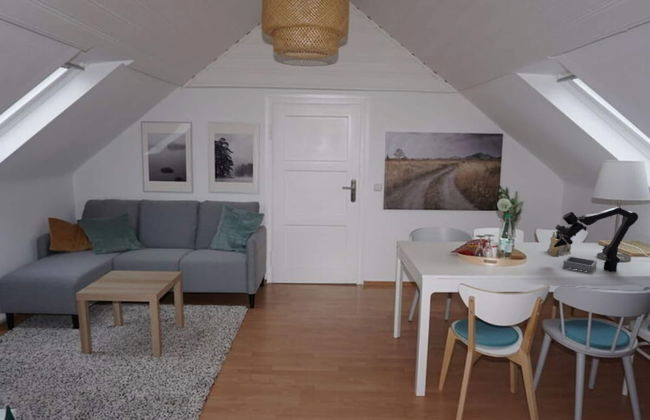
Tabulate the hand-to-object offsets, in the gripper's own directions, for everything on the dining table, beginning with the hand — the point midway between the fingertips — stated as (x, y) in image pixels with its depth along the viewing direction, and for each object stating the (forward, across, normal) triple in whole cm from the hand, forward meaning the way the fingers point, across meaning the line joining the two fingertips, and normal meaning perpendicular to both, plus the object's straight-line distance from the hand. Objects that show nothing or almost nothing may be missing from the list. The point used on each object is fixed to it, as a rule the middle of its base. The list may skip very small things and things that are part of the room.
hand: (552, 245), depth 298 cm
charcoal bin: (-3, -1, +22) cm, 22 cm away
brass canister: (+4, 0, +6) cm, 7 cm away
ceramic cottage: (-1, -38, +20) cm, 43 cm away
